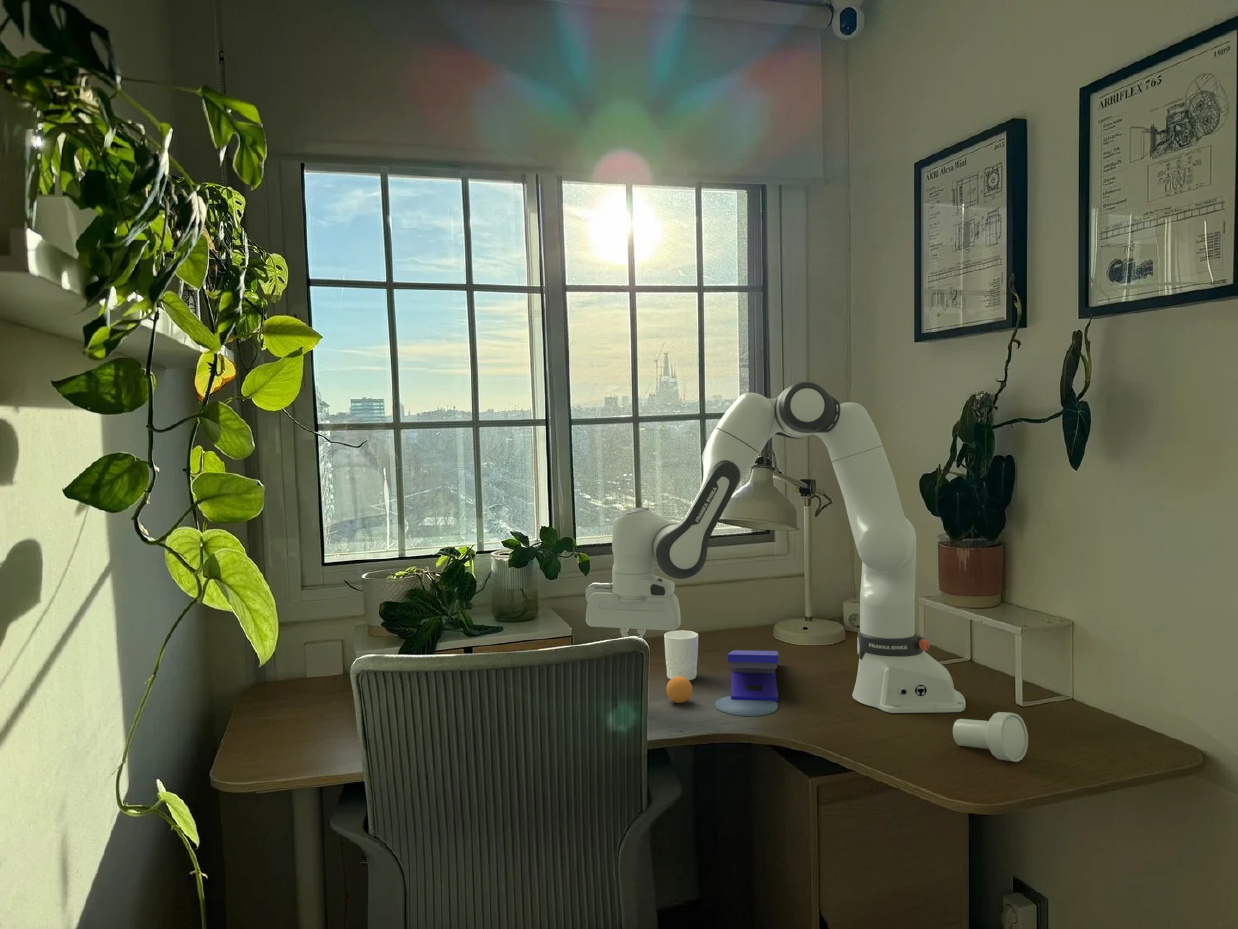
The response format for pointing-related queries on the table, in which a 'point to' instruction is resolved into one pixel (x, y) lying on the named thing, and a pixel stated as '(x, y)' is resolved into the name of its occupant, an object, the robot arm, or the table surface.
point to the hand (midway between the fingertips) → (633, 648)
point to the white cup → (681, 654)
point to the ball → (679, 689)
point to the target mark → (746, 706)
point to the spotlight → (994, 735)
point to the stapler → (753, 675)
